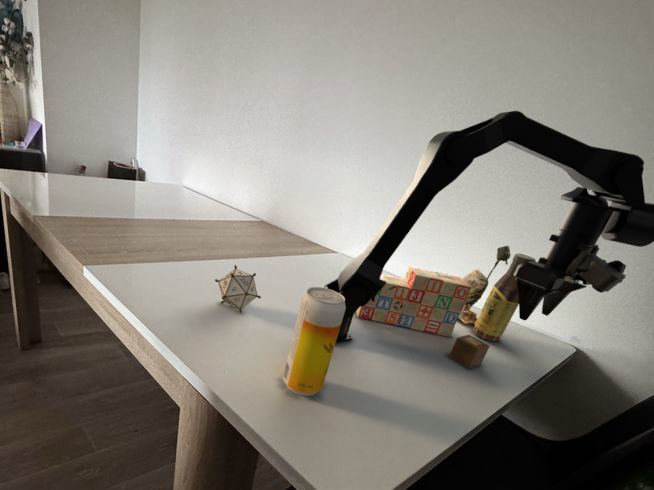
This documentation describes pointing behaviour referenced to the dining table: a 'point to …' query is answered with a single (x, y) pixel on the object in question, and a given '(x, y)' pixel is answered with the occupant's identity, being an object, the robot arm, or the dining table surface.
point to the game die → (238, 288)
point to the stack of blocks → (419, 301)
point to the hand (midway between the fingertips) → (534, 317)
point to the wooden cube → (468, 351)
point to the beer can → (314, 340)
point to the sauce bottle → (500, 303)
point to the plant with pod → (479, 286)
